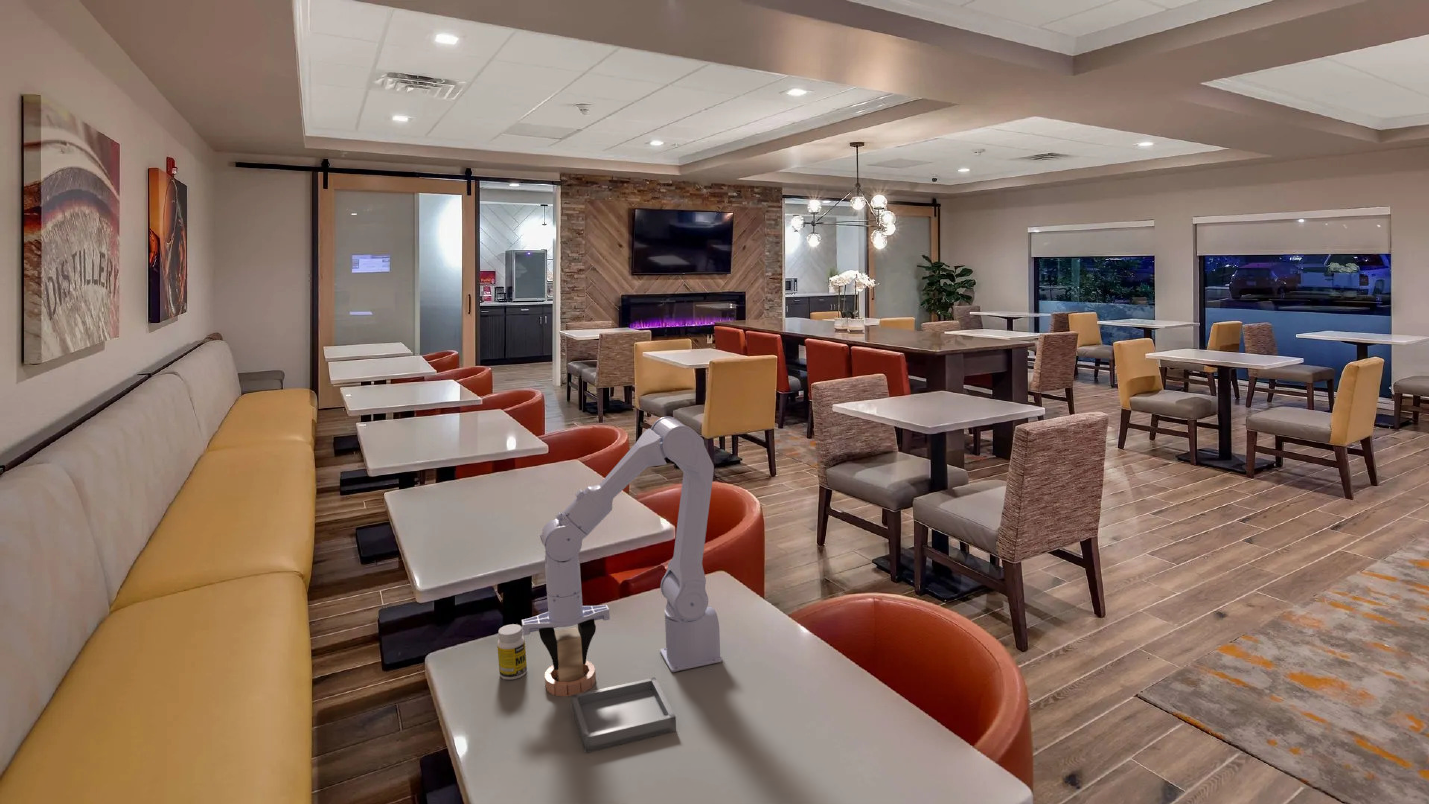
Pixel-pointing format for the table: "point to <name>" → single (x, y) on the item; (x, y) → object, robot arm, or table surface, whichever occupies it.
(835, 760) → the table surface
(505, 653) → the supplement bottle
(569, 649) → the oak peg
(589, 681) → the segmented block ring
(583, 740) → the tray
